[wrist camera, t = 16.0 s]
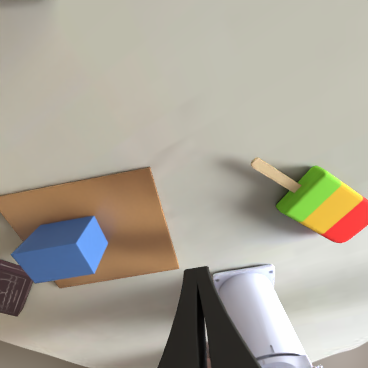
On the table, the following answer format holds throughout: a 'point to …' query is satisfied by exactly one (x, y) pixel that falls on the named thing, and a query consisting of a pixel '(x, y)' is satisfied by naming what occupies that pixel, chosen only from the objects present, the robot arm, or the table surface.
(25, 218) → the cork mat
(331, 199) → the popsicle
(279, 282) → the table surface
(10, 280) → the chocolate bar
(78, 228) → the blue block
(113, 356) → the table surface
